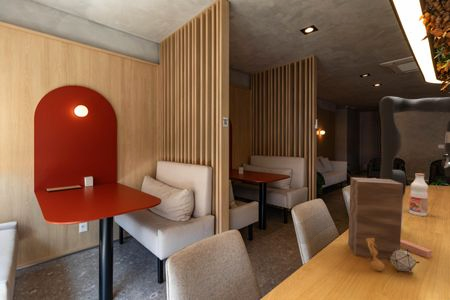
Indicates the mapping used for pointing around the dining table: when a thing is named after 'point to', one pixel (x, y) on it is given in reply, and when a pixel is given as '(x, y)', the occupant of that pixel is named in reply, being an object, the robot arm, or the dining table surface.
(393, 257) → the game die
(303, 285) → the dining table surface
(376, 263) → the figurine
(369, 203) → the walnut pedestal
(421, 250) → the terracotta bar
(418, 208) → the fruit juice
